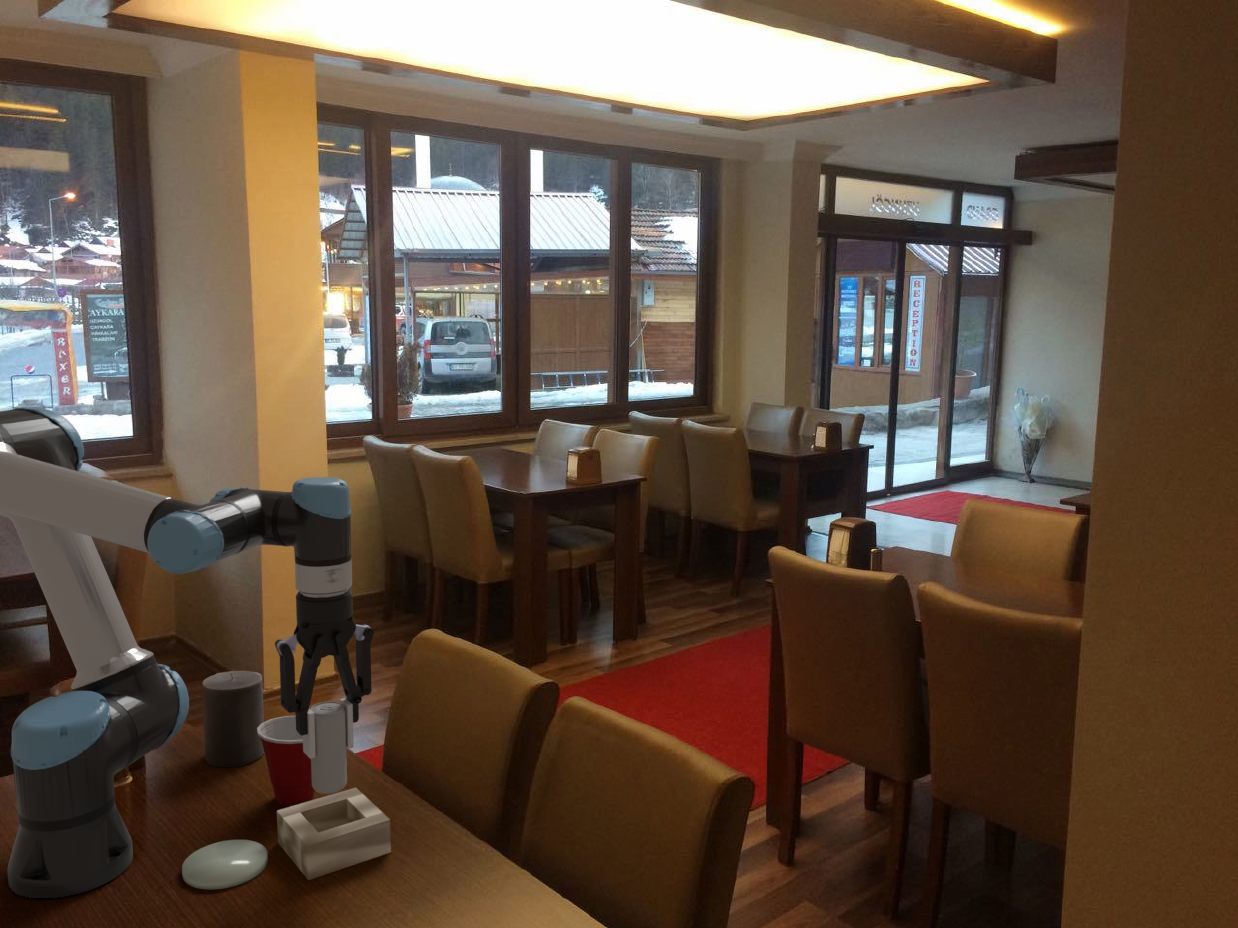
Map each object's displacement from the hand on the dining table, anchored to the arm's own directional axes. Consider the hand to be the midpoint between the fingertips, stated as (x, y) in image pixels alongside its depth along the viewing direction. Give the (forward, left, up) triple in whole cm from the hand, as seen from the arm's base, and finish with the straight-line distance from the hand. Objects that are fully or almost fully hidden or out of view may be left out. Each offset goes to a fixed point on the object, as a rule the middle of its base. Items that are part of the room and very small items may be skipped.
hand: (328, 749), depth 144 cm
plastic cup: (-18, +1, -15) cm, 23 cm away
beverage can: (0, 0, -6) cm, 6 cm away
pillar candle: (-39, -2, -15) cm, 42 cm away
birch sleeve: (0, 0, -15) cm, 15 cm away
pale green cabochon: (-4, -14, -15) cm, 21 cm away
